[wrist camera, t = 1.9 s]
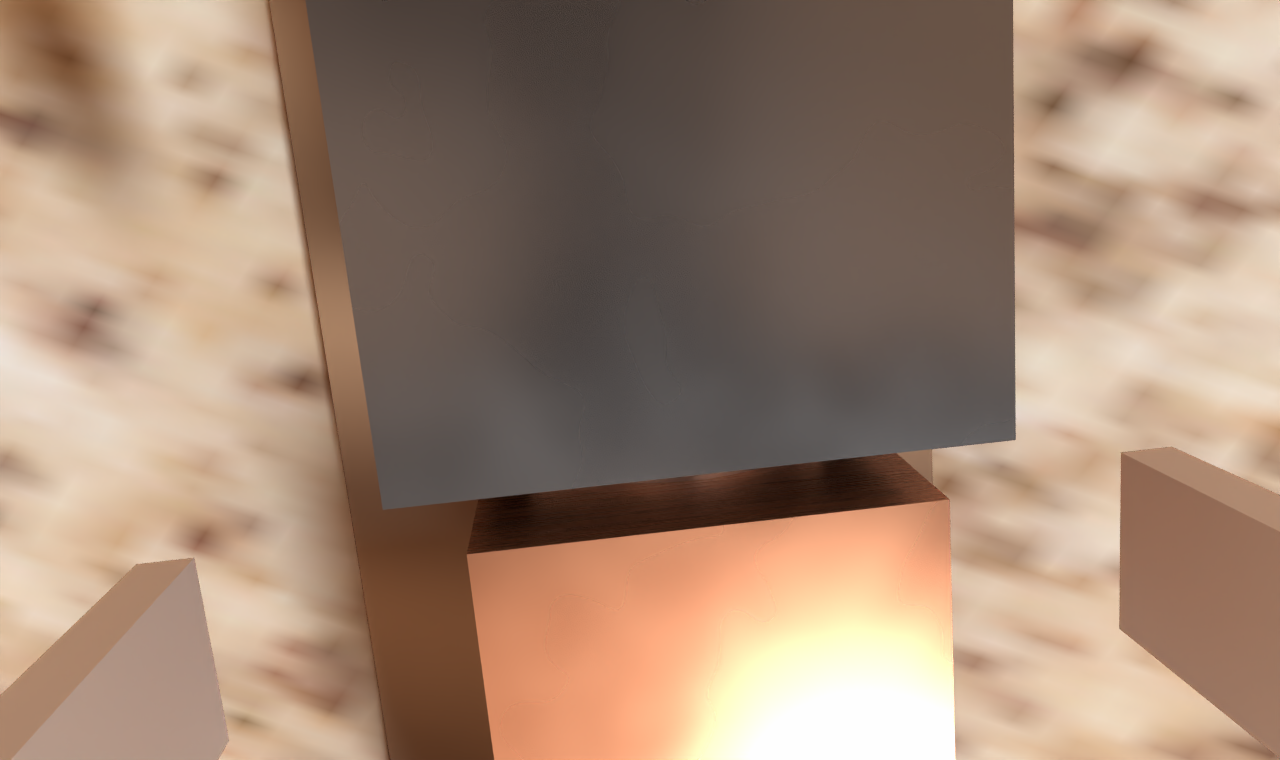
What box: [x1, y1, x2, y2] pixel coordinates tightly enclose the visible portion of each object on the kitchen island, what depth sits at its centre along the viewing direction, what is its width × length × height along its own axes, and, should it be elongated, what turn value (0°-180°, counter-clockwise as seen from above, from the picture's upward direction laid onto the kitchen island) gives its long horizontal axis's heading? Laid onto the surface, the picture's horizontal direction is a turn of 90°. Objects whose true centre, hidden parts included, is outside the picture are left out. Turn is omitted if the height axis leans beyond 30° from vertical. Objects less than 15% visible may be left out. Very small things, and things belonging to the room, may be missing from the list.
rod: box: [467, 453, 955, 760], centre depth 14 cm, size 17×5×7 cm, turn 5°
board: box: [269, 0, 933, 760], centre depth 22 cm, size 28×12×1 cm, turn 5°
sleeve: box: [305, 0, 1016, 510], centre depth 15 cm, size 9×7×11 cm
